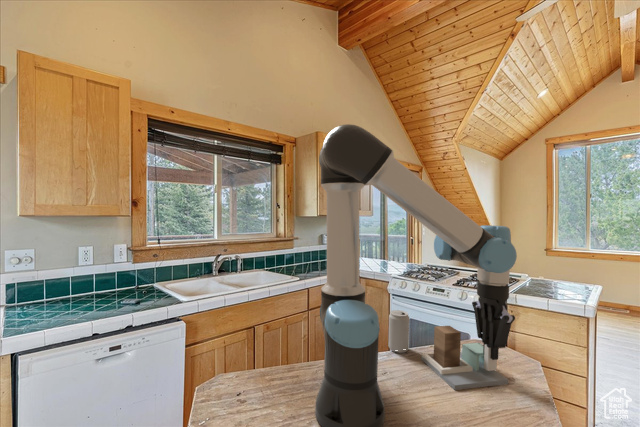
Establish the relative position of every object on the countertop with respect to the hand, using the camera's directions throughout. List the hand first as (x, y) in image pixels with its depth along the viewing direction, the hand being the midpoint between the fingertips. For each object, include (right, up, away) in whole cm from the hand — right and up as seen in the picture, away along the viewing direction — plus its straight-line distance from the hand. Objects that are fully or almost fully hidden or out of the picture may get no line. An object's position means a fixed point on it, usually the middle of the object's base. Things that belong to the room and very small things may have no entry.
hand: (490, 368), depth 82 cm
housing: (-1, -1, +5) cm, 5 cm away
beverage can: (-21, -2, +16) cm, 26 cm away
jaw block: (-10, -1, +5) cm, 11 cm away
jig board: (-6, -2, +4) cm, 8 cm away
